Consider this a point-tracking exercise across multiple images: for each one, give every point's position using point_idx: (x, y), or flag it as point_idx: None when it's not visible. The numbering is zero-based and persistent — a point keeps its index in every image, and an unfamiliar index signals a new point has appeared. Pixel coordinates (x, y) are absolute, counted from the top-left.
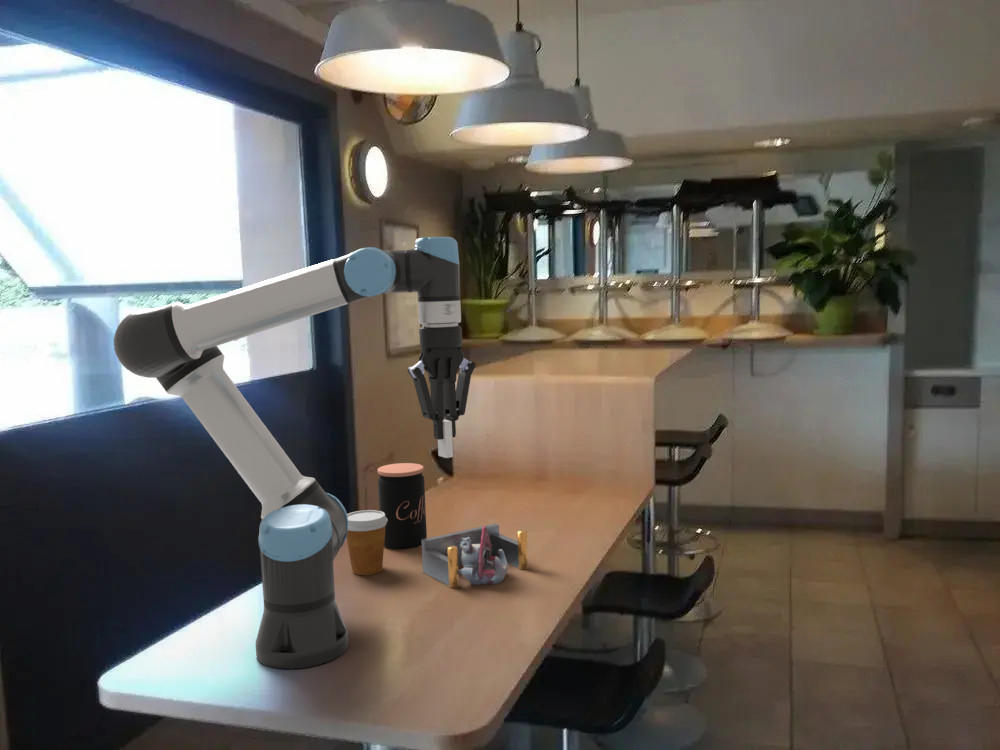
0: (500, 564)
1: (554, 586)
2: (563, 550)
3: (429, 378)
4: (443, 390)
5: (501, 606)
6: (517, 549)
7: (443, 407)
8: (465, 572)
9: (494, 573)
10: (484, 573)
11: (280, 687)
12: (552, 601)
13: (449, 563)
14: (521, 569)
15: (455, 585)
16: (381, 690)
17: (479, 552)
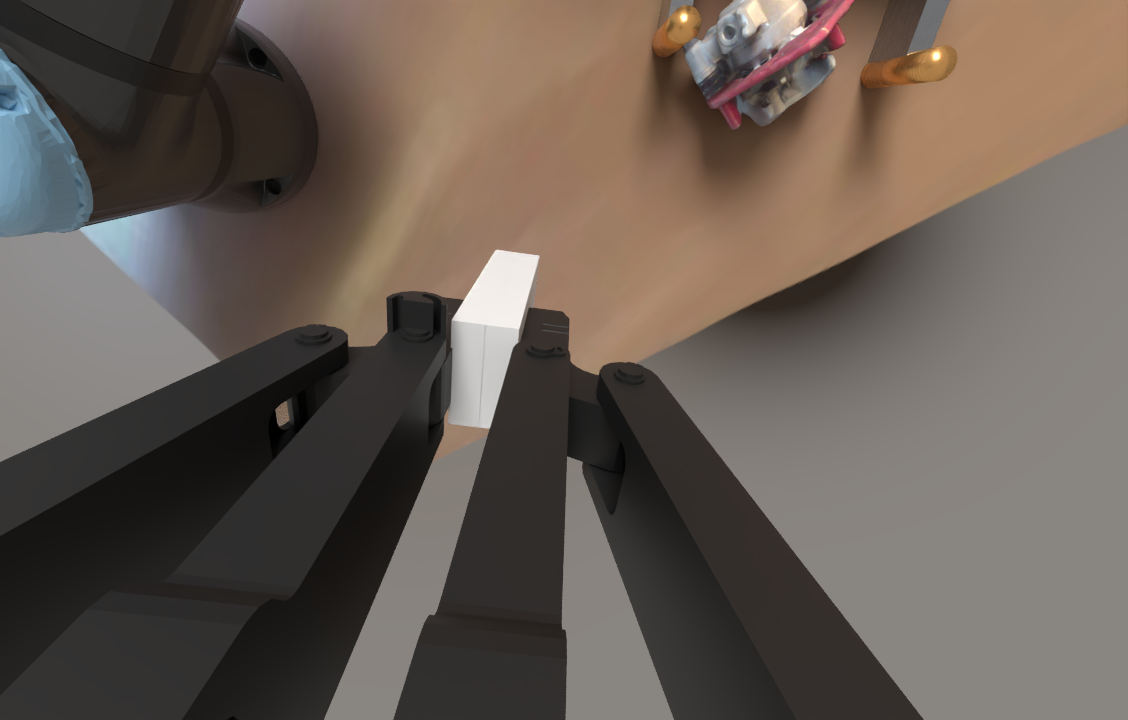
0: (767, 120)
1: (802, 230)
2: (1069, 39)
3: (67, 668)
4: (468, 513)
5: (645, 232)
6: (899, 53)
7: (418, 490)
8: (690, 65)
9: (733, 129)
10: (719, 107)
11: (164, 233)
12: (728, 286)
13: (662, 33)
14: (861, 79)
15: (660, 55)
16: None
17: (732, 90)
